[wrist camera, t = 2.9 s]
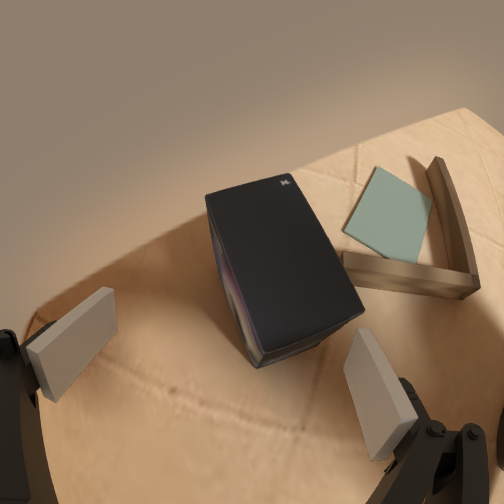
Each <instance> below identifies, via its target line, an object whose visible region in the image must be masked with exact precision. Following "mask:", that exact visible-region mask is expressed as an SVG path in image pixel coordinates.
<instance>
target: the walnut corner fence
mask: <svg viewBox="0 0 504 504" xmlns="http://www.w3.org/2000/svg"><path fill="white" fill-rule="evenodd" d="M426 175H427V178H428V181H429V184H430V187H431V190H432V194H433V197H434V201H435V204H436V208H437V211H438V215H439V219H440V223H441V227H442V232H443V236H444V241H445V245H446V250H447V256H448V261H449V267H450V270H446V269H441V268H435V267H430V266H424V265H419V264H413V263H408V262H402V261H396V260H391V259H385V258H379V257H373V256H368V255H362V254H356V253H350V252H343V253H342V255H341V256H340V258H339V259H340V261H341V262H342V264H343V266H344V268H345V270H346V272H347V274H348V276H349V278H350V280H351V282H352V284H353V286H357V287H365V288H372V289H379V290H387V291H394V292H402V293H410V294H418V295H426V296H434V297H442V298H450V299H459V300H463V299H465V298H466V297H468V296H470V295H471V294H473V293H474V292H476V291H477V290H479V289H480V288H481V286H480V280H479V275H478V269H477V264H476V260H475V255H474V251H473V247H472V243H471V239H470V235H469V231H468V228H467V224H466V221H465V217H464V214H463V211H462V208H461V205H460V202H459V199H458V196H457V193H456V190H455V187H454V185H453V182H452V179H451V177H450V174H449V172H448V169H447V167H446V164H445V162H444V159H442V158H440V157H437V156H435V158H434V159H433V161H432V163H431V164H430V166H429V167H428V169H427V171H426Z"/></svg>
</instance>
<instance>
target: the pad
mask: <svg viewBox="0 0 504 504" xmlns="http://www.w3.org/2000/svg"><path fill="white" fill-rule="evenodd" d="M431 204H432V199H430V198H429V197H427V196H426V195H424V194H423V193H421V192H420V191H418V190H417V189H415V188H413V187H412V186H410V185H409V184H407V183H406V182H404V181H402V180H401V179H399V178H397V177H396V176H394V175H392V174H391V173H389V172H387V171H386V170H384V169H382V168H381V167H379V166H378V167H377V169H376V171H375V173H374V175H373V177H372V179H371V181H370V183H369V185H368V187H367V189H366V191H365V193H364V195H363V196H362V198H361V200H360V202H359V204H358V206H357V208H356V210H355V212H354V214H353V215H352V217H351V219H350V221H349V223H348V225H347V227H346V228H345V230H344V233H346V234H347V235H349V236H351V237H352V238H354V239H356V240H357V241H359V242H361V243H362V244H364V245H365V246H367V247H369V248H370V249H372V250H374V251H375V252H377V253H378V254H380V255H382V256H383V257H385V258H386V259H391V260H396V261H402V262H408V263H413V264H416V263H417V259H418V256H419V252H420V249H421V245H422V242H423V238H424V234H425V230H426V226H427V222H428V218H429V213H430V209H431Z"/></svg>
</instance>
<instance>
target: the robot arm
mask: <svg viewBox="0 0 504 504" xmlns="http://www.w3.org/2000/svg"><path fill="white" fill-rule="evenodd" d="M116 333H117V321H116V310H115V296H114V289H112V288H107V287H101V288H100V289H99V290H97V291H96V292H95V293H93V294H92V295H91V296H89V297H88V298H87V299H85V300H84V301H83V302H81V303H80V304H79V305H77V306H76V307H75V308H74V309H72V310H71V311H70V312H68V313H67V314H66V315H65V316H63V317H62V318H61V319H60V320H58V321H56V320H55V321H53V322H50V323H48V324H46V325H45V326H44V327H42V328H41V330H39V331H37V332H36V334H34V335H32V336H31V337H30V338H29V339H27V340H26V341H25V342H24V343H23V344H21V345H20V346H19V344H18V341H17V338H16V334H15V333H14V332H13V331H12V330H8V329H3V330H0V504H59V503H58V500H57V497H56V494H55V490H54V487H53V483H52V479H51V475H50V471H49V467H48V462H47V458H46V453H45V447H44V442H43V436H42V429H41V421H40V412H39V402H38V395H37V392H36V391H37V390H38V389H39V388H41V391H42V393H43V395H44V397H46V398H48V399H49V400H51V401H53V402H55V403H57V401H58V400H59V399H60V398H61V397H62V395H63V394H64V393H65V392H66V390H67V389H68V388H69V387H70V386H71V384H72V383H73V382H74V381H75V380H76V378H77V377H78V376H79V375H80V374H81V373H82V371H83V370H84V369H85V368H86V367H87V366H88V364H89V363H90V362H91V361H92V360H93V359H94V357H95V356H96V355H97V354H98V353H99V352H100V351H101V349H102V348H103V347H104V346H105V345H106V344H107V343H108V341H109V340H110V339H111V338H112V337H113V336H114V335H115V334H116ZM343 371H344V375H345V378H346V381H347V384H348V387H349V390H350V393H351V396H352V400H353V403H354V406H355V409H356V413H357V416H358V419H359V423H360V426H361V430H362V433H363V437H364V440H365V444H366V447H367V451H368V454H369V458H370V462H371V461H379V460H386V459H387V458H388V457H389V456H390V455H391V453H392V452H393V453H394V455H395V459H394V460H393V461H392V463H391V464H390V465H389V466H388V467H387V468H386V469H385V470H384V472H386V473H385V475H384V476H383V478H382V480H381V481H380V483H379V484H378V486H377V487H376V489H375V491H374V492H373V494H372V495H371V497H370V498H369V499H368V501H367V502H366V504H422V503H423V501H424V498H425V496H426V499H425V504H489V473H488V458H487V448H486V440H485V434H484V431H483V430H482V429H481V427H479V426H478V425H476V424H473V423H468V424H466V425H464V427H463V428H462V429H461V431H460V432H459V431H447V429H446V427H445V426H444V425H443V424H442V423H440V422H439V421H436V420H431V419H430V417H429V415H428V414H427V412H426V410H425V408H424V406H423V404H422V403H421V401H420V399H419V397H418V395H417V394H416V393H415V390H414V388H413V386H412V385H411V384H410V383H409V382H408V381H407V380H406V379H405V378H398V377H397V376H396V374H395V372H394V370H393V368H392V366H391V365H390V363H389V361H388V359H387V357H386V356H385V354H384V352H383V350H382V349H381V347H380V345H379V343H378V342H377V340H376V338H375V336H374V335H373V333H372V331H371V330H370V329H368V328H357V330H356V333H355V335H354V338H353V341H352V344H351V347H350V350H349V352H348V355H347V358H346V360H345V363H344V366H343ZM497 453H498V460H499V464H500V466H501V468H502V469H503V470H504V410H503V414H502V418H501V422H500V427H499V433H498V444H497Z"/></svg>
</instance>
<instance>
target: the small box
mask: <svg viewBox="0 0 504 504" xmlns="http://www.w3.org/2000/svg"><path fill="white" fill-rule="evenodd" d="M205 201H206V207H207V214H208V220H209V226H210V232H211V237H212V242H213V247H214V253H215V258H216V263H217V267H218V271H219V275H220V278H221V281H222V284H223V287H224V290H225V293H226V296H227V299H228V302H229V305H230V308H231V310H232V313H233V316H234V319H235V321H236V324H237V326H238V329H239V332H240V334H241V337H242V339H243V342H244V345H245V347H246V350H247V352H248V354H249V357H250V359H251V361H252V363H253V365H254V368H256V369H258V368H261V367H264V366H267V365H269V364H273V363H275V362H278V361H280V360H283V359H285V358H288V357H291V356H293V355H296V354H298V353H300V352H303V351H305V350H308V349H310V348H312V347H315V346H317V345H319V344H320V342H321V341H323V340H324V339H326V338H327V337H328V336H330V335H331V334H333V333H334V332H336V331H337V330H338V329H340V328H341V327H343V326H344V325H345V324H347V323H348V322H349V321H350V320H352V319H354V318H356V317H358V316H359V315H361V314H362V313H364V311H365V308H364V306H363V304H362V302H361V300H360V298H359V296H358V294H357V292H356V290H355V288H354V286H353V284H352V282H351V280H350V278H349V276H348V274H347V272H346V270H345V268H344V266H343V264H342V262H341V261H340V259H339V257H338V255H337V253H336V251H335V249H334V247H333V246H332V244H331V242H330V240H329V238H328V237H327V235H326V233H325V231H324V229H323V228H322V226H321V224H320V222H319V221H318V219H317V217H316V215H315V213H314V212H313V210H312V208H311V207H310V205H309V203H308V202H307V200H306V198H305V196H304V195H303V193H302V191H301V190H300V188H299V187H298V185H297V183H296V182H295V180H294V178H293V177H292V175H291V174H290V173H285V174H281V175H277V176H273V177H269V178H265V179H261V180H258V181H254V182H250V183H246V184H242V185H238V186H235V187H231V188H227V189H224V190H220V191H217V192H214V193H210V194H206V195H205Z"/></svg>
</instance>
